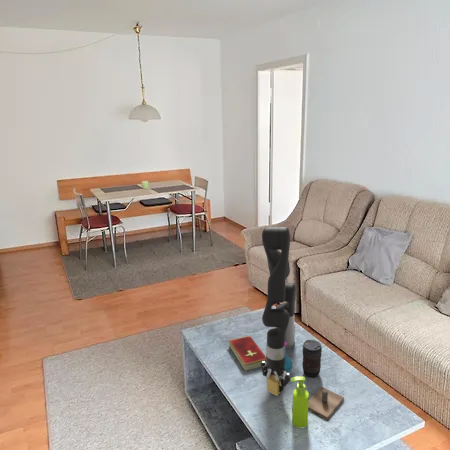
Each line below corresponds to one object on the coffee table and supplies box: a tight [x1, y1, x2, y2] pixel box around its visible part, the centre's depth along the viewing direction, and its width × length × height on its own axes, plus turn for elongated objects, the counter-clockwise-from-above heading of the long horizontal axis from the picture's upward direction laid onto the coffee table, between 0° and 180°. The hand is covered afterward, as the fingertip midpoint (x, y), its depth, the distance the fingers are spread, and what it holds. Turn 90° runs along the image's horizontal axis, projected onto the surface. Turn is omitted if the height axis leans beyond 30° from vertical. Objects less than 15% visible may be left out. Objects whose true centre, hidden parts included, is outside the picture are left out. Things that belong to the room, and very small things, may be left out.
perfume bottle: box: [284, 342, 293, 373], centre depth 181 cm, size 9×9×15 cm
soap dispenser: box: [289, 375, 310, 429], centre depth 152 cm, size 6×7×20 cm
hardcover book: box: [228, 335, 266, 372], centre depth 195 cm, size 12×21×4 cm, turn 20°
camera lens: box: [302, 339, 323, 379], centre depth 179 cm, size 8×8×15 cm
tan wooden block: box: [266, 375, 282, 397], centre depth 168 cm, size 5×5×6 cm
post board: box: [308, 386, 345, 420], centre depth 163 cm, size 14×10×6 cm
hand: (275, 388), depth 169 cm, fingers closed on tan wooden block, 5 cm apart
